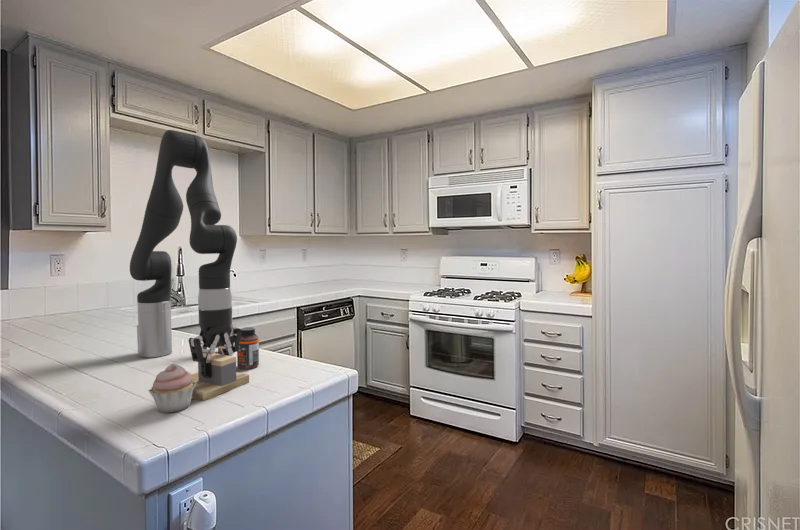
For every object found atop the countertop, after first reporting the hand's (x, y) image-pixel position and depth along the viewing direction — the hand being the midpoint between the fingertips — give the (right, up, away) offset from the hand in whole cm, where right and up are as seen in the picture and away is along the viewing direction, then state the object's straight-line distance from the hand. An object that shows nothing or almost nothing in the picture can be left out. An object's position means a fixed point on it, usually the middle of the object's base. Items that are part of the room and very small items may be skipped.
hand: (217, 373), depth 105 cm
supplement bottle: (+1, -3, +19) cm, 19 cm away
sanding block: (0, -2, 0) cm, 2 cm away
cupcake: (-4, -5, -12) cm, 13 cm away
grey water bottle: (-12, -2, +35) cm, 37 cm away
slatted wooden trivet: (-4, -4, +2) cm, 6 cm away
